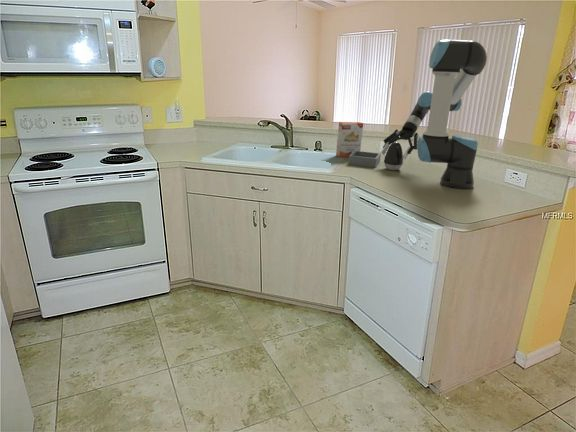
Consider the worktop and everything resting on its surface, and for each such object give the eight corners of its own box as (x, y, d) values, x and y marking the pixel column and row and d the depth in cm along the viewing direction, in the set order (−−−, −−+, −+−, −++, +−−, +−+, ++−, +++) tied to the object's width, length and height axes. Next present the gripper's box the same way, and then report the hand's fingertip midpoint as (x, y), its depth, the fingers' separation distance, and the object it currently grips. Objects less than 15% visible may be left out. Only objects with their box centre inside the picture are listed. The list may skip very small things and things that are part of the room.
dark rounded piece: (400, 167, 222) (404, 140, 216) (403, 172, 212) (407, 144, 206) (382, 166, 222) (385, 139, 217) (384, 171, 213) (387, 143, 207)
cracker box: (339, 157, 240) (342, 123, 232) (335, 155, 245) (338, 121, 238) (360, 157, 244) (363, 122, 236) (356, 154, 249) (359, 121, 241)
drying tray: (375, 167, 220) (376, 158, 218) (348, 164, 225) (349, 155, 223) (380, 161, 233) (381, 153, 231) (354, 158, 238) (355, 150, 236)
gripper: (433, 133, 213) (415, 164, 209) (394, 127, 229) (376, 155, 225) (430, 124, 207) (411, 155, 203) (390, 118, 224) (371, 147, 220)
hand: (393, 155), depth 214 cm, fingers open, 13 cm apart
